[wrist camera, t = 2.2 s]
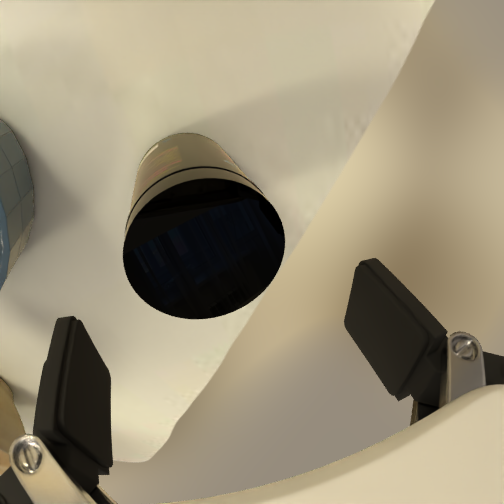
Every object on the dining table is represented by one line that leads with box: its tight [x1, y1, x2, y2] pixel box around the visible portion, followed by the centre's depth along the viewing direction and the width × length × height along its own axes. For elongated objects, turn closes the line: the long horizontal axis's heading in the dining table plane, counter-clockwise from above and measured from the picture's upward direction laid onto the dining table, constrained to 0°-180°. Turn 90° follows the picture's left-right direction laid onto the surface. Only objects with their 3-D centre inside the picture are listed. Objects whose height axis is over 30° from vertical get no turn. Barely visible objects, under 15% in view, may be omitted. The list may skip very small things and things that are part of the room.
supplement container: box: [123, 133, 285, 319], centre depth 16 cm, size 7×7×10 cm
